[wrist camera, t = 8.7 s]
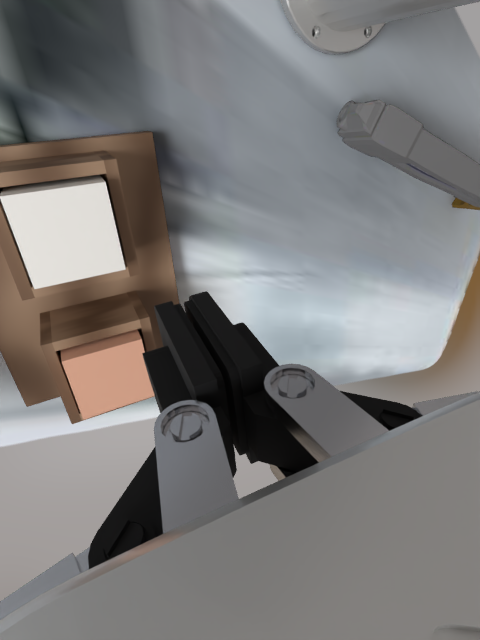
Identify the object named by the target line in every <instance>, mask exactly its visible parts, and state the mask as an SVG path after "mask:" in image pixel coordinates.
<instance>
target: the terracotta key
mask: <svg viewBox="0 0 480 640" xmlns="http://www.w3.org/2000/svg"><path fill="white" fill-rule="evenodd" d="M60 352H61V361H62V364H63V367H64V370H65V372H66V375H67V378H68V380H69V383H70V386H71V388H72V391H73V394H74V396H75V399H76V401H77V404H78V407H79V409H80V412H81V415H82V417H83V420H84V419H87V418H90V417H93V416H95V415H98V414H101V413H104V412H107V411H110V410H113V409H116V408H119V407H122V406H125V405H128V404H131V403H134V402H137V401H140V400H143V399H146V398H149V397H152V396H155V395H154V392H153V389H152V386H151V382H150V379H149V376H148V372H147V369H146V365H145V362H144V358H143V354H142V353H145V351H144V347H143V343H142V339H141V336H140V334H139V332H138V330H137V329H136V330H132V331H128V332H125V333H121V334H117V335H114V336H110V337H106V338H103V339H99V340H95V341H92V342H88V343H84V344H81V345H77V346H73V347H70V348H66V349H62V350H60Z"/></svg>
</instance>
